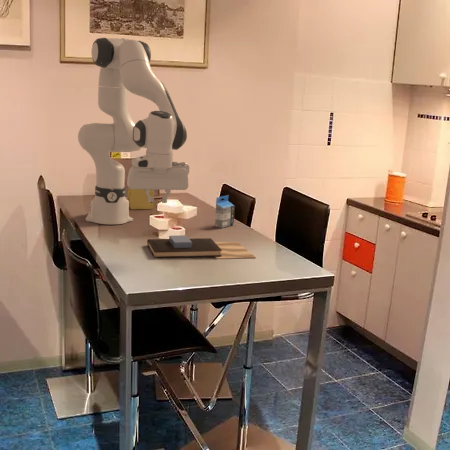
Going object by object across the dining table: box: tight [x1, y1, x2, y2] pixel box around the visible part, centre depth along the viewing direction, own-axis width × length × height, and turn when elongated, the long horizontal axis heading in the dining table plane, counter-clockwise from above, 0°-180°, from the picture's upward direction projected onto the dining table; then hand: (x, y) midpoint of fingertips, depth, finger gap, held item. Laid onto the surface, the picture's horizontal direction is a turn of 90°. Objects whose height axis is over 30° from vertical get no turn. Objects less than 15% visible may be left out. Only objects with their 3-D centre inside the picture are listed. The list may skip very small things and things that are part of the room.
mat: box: [214, 241, 256, 260], centre depth 215 cm, size 20×14×1 cm
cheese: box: [126, 187, 155, 210], centre depth 274 cm, size 10×11×10 cm
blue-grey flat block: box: [168, 234, 192, 248], centre depth 209 cm, size 9×6×2 cm, turn 17°
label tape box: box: [214, 194, 236, 229], centre depth 250 cm, size 9×4×12 cm, turn 146°
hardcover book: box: [146, 237, 222, 259], centre depth 209 cm, size 16×23×2 cm
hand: (157, 202), depth 203 cm, fingers open, 3 cm apart
